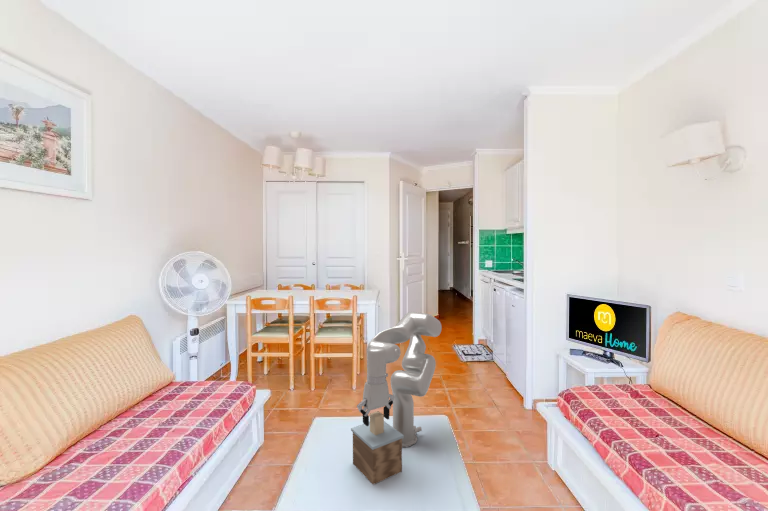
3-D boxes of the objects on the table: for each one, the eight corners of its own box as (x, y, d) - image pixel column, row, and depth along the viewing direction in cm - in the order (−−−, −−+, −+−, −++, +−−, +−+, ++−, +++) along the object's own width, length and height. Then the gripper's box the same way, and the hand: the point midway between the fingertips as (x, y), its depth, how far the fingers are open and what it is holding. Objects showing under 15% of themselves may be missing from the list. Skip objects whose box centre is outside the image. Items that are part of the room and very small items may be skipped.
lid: (380, 423, 148) (380, 402, 148) (403, 440, 135) (403, 417, 135) (351, 433, 140) (351, 411, 140) (372, 453, 127) (372, 428, 127)
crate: (380, 452, 148) (380, 421, 148) (401, 471, 135) (401, 437, 135) (352, 463, 140) (352, 430, 140) (373, 484, 128) (373, 448, 127)
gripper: (388, 371, 145) (388, 412, 145) (352, 380, 135) (352, 423, 135) (399, 377, 139) (399, 419, 139) (362, 386, 129) (362, 431, 129)
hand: (376, 421), depth 137 cm, fingers open, 9 cm apart
